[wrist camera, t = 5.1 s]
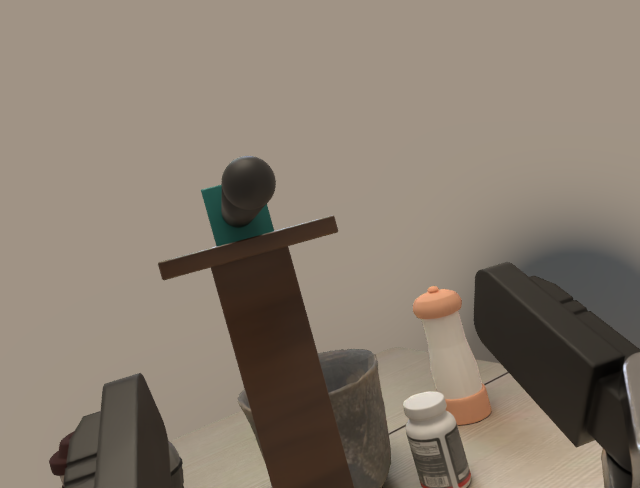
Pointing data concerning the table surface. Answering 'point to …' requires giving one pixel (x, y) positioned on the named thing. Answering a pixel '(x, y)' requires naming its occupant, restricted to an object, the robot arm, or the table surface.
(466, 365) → the pepper shaker
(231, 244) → the headphone stand
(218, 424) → the table surface
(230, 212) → the teal block with handle
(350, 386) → the bowl
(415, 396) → the pill bottle
